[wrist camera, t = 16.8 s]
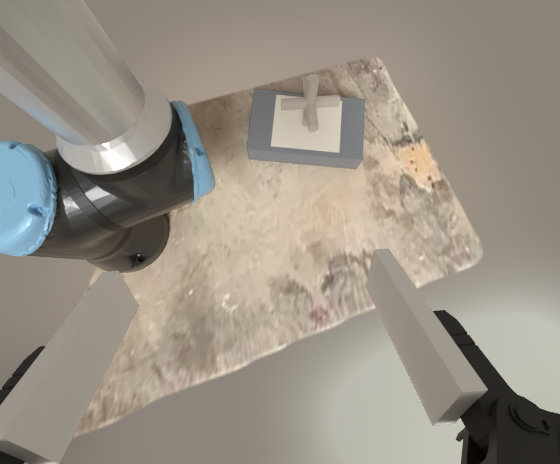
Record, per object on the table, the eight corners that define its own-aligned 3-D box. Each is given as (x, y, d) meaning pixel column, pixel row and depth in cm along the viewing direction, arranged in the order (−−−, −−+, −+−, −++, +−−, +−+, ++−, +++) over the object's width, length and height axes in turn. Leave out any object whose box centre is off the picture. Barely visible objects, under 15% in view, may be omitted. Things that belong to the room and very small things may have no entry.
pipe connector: (279, 102, 47) (278, 54, 37) (329, 99, 47) (341, 50, 38) (283, 147, 45) (283, 108, 35) (336, 143, 45) (351, 104, 35)
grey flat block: (248, 159, 49) (246, 148, 45) (256, 103, 52) (254, 88, 47) (355, 169, 49) (363, 159, 45) (357, 112, 51) (365, 98, 47)
